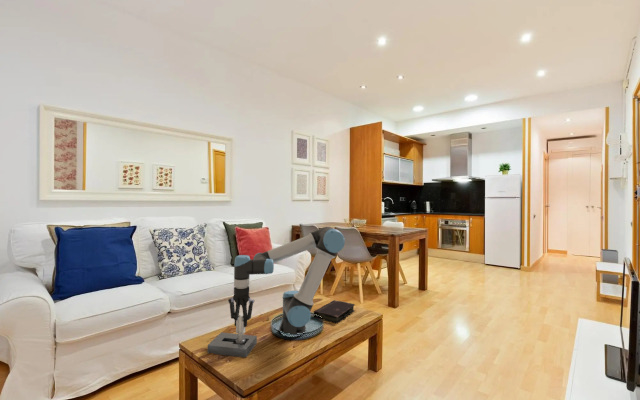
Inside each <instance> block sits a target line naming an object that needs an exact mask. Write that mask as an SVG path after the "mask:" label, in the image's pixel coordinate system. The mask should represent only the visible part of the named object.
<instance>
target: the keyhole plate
mask: <svg viewBox="0 0 640 400" xmlns="http://www.w3.org/2000/svg"><path fill="white" fill-rule="evenodd" d="M257 337H258V335H251V334H250V335H249V334H243V338H244V339H245V344H244V345H240V344H236V339H238V333H230V332H223V331H222V332H220V333H219V334H218V335H217V336H216V337H215V338H213V340H211V341H210V342H209V343H207V344H208V345H207V354H210V353H213V354H212V355H220V356H228V357H229V356H230V357H240V358H244V359H245V358H247V357H248V355H249V354H250V353H251V351H252V350H253V349H254V348H255V347H256V345H257V343H258V342H257V341H258V338H257Z"/></svg>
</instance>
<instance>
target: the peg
mask: <svg viewBox="0 0 640 400" xmlns="http://www.w3.org/2000/svg"><path fill="white" fill-rule="evenodd" d="M242 321H243V314H239V322H238V333H237V334H238V339H236V343H235V344H240V345H245V339H244V338H243V335H244V334H242Z"/></svg>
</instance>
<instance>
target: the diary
mask: <svg viewBox="0 0 640 400" xmlns="http://www.w3.org/2000/svg"><path fill="white" fill-rule="evenodd" d="M354 306H356V304H354V303H351V302H346V301H341V300H335V299H334V300H332V301H330V302H328V303H327V304H324V305H322V306H321V307H319V308H318V309H316V310H313V313H314V314H317V315H319V316H321V317H322V318H323V319H322V320H323V321H327V322H330V323H333V324H338V323H340V322H342V321H343V320H344V319H346V318H348V317H349V315H351V314H353V313H355V312H356V310H354Z"/></svg>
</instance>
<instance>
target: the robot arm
mask: <svg viewBox="0 0 640 400" xmlns="http://www.w3.org/2000/svg"><path fill="white" fill-rule="evenodd" d="M345 243H346V240H345V236H344V234H343V233H342V232H341V231H340V230H338V229H336V228H333V227H330V226H324V227H322V228H318V229H316V230H313V231H312V232H310V233H308V235H306V236H303V237H300V238H298V239H296V240H292V241H291V242H287V243H285V244H283V245H280V246H277V247H275V248H272V249H269V250H267V251H264V252H257V253H256V254H255V255H254V256H253V259H251V258H250V255H247V254H239V255H236V256H235V257H234V266H233V268H234V269H233V273H234V274H233V296H232V297H230V298H228V300H227V301H228V303H229V309H230V310H229V311H230V318H231V319H233V320H234V326H235V334H238V322H239V315H240V310H242V315H243V321H242V334H243V335H245V333H246V327H247V326H248V321H250V320H251V318H252V313H253V306H254V303H255V299H252V298H251V296H250V275H252V276H253V275H270V274H273V272H274V266H275V263H278V262H280V261H283V260H285V259H286V260H287V259H288V258H290V257H293V256H296V255H299V254H301V253H304V252H306V251H308V250H311V249H316V254H315V256H314V257H313V260H312V263H311V264H310V266H309V268H308V271H307V273H306V275H305V277H304V279H303V281H302V283H301V285H300V287H299V289H298V290H288V291H284V292H283V294H282V317H281V318H282V319H281V322H280V325H279V329H278V331H279V330H280V331H282V332H284V333H290V334H297V333H303V332H305V331H307V330H306V329H307V328H306V325H307V324H308V323H309V322H310V320H311V316H312V315H311V311H312V308H313V306H314V301H313V300H314V297H315V296H316V293H317V291H318V289H319V286H320V284H321V282H322V280H323V279H324V276H325V273H326V271H327V269H328V268H329V265H330V263H331V261H332V260H333V259H334V258H336V257H337V255H338V253H339V252H340V251H342V250H343V248H344V247H345V245H346V244H345ZM247 305H248V307H247ZM240 308H242V309H240ZM305 333H306V332H305Z"/></svg>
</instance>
